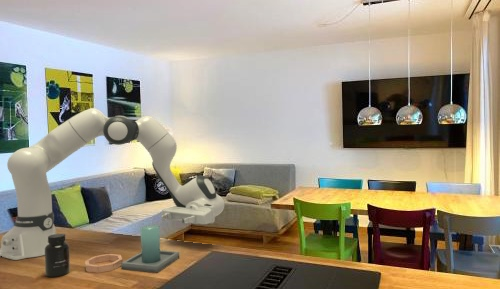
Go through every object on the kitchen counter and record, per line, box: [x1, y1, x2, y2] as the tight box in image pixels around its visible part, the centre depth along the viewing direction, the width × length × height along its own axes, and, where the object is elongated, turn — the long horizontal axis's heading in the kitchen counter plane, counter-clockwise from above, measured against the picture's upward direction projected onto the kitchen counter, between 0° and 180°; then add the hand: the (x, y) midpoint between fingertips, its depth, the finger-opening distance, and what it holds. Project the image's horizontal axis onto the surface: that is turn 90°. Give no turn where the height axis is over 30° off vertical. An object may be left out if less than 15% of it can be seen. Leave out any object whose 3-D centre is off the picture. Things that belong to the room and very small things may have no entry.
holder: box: [84, 253, 124, 274], centre depth 122 cm, size 11×11×2 cm
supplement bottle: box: [44, 233, 71, 278], centre depth 116 cm, size 7×7×12 cm
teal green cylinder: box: [140, 224, 161, 263], centre depth 123 cm, size 6×6×11 cm
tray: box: [120, 249, 180, 274], centre depth 123 cm, size 13×14×2 cm
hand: (173, 219), depth 133 cm, fingers open, 8 cm apart
